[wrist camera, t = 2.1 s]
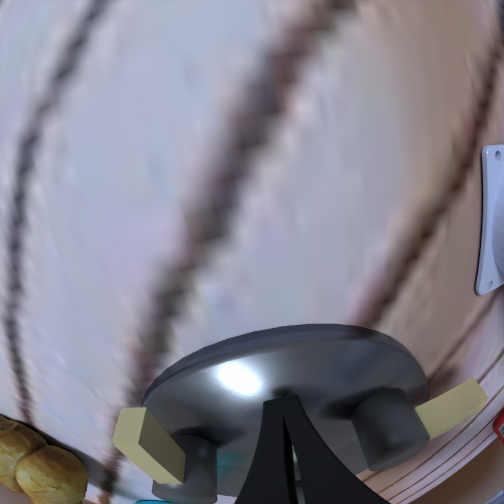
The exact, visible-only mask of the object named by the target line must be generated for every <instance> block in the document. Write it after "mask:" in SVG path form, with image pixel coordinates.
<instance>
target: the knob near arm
mask: <svg viewBox="0 0 504 504" xmlns="http://www.w3.org/2000/svg"><path fill="white" fill-rule="evenodd" d="M487 400H488V396H487V395H486V394H485V392H484V391H483V390H482V388H481V387H480V386H479V385H478V383H477V382H476V381H475V379H474V378H473V377H472V378H470V379H469V380H467V381H465V382H463V383H462V384H460V385H458V386H456V387H455V388H453V389H451V390H449V391H447V392H446V393H444V394H442V395H440V396H438V397H436V398H434V399H432V400H430V401H428V402H426V403H424V404H422V405H420V406H417V407H415V408H414V407H413V405H412V403H411V402H410V400H409V398H408V396H407V395H406V393H405V391H404V390H402V389H400V388H391V389H387V390H383V391H381V392H378V393H376V394H374V395H372V396H370V397H369V398H367V399H366V400H364V401H363V402H362V403H361V404H360V405H359V406H357V408H356V409H355V410H354V411H353V413H352V416H351V421H352V424H353V427H354V429H355V432H356V435H357V437H358V440H359V443H360V445H361V448H362V451H363V453H364V456H365V459H366V462H367V464H368V467H369V470H371V471H381V470H385V469H389V468H392V467H394V466H397V465H399V464H401V463H403V462H405V461H407V460H408V459H410V458H411V457H413V456H414V455H416V454H417V453H418V452H420V451H421V450H422V449H423V448H424V447H425V446H426V445H427V444H428V442H429V441H431V440H433V439H434V438H436V437H438V436H440V435H442V434H444V433H446V432H447V431H449V430H451V429H453V428H454V427H456V426H458V425H459V424H461V423H463V422H464V421H466V420H468V419H469V418H471V417H472V416H474V415H475V414H477V413H478V412H480V411H481V410H482V409H483V407H484V405H485V403H486V402H487Z"/></svg>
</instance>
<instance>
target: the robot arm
mask: <svg viewBox="0 0 504 504" xmlns="http://www.w3.org/2000/svg"><path fill="white" fill-rule="evenodd" d="M482 165H483V228H482V242H481V253H480V262H479V269H478V276H477V283H476V292H477V293H478V294H479V295H484V294H486V293H488V292H490V291H492V290H494V289H495V288H497V287H499V286H501V285H503V284H504V144H496V145H486V146H484V148H483V150H482ZM292 445H293V448H294V451H295V455H296V458H297V462H298V466H299V472H300V477H301V482H302V488H303V493H304V499H305V504H391V503H389V502H388V501H386V500H385V499H383V498H382V497H381V496H379V495H378V494H377V493H375V492H374V491H373V490H371V489H370V488H369V487H368V486H367V485H365V484H364V483H363V482H362V481H361V480H359V479H358V478H357V477H356V476H355V475H354V474H353V473H352V472H351V471H350V470H349V469H348V468H347V467H346V466H345V465H344V464H343V463H342V462H341V461H340V460H339V459H338V458H337V456H336V455H335V454H334V453H333V452H332V450H331V449H330V448H329V447H328V445H327V444H326V443H325V442H324V440H323V439H322V438H321V436H320V435H319V433H318V432H317V430H316V429H315V427H314V426H313V424H312V423H311V421H310V419H309V417H308V416H307V414H306V412H305V410H304V408H303V406H302V404H301V401H300V398H299V395H297V394H293V395H289V396H285V397H280V398H276V399H271V400H266V401H264V402H263V413H262V422H261V428H260V433H259V437H258V442H257V446H256V450H255V453H254V457H253V460H252V463H251V466H250V469H249V472H248V475H247V477H246V480H245V482H244V484H243V487H242V489H241V491H240V493H239V495H238V497H237V499H236V501H235V503H234V504H299V502H298V497H297V490H296V481H295V469H294V458H293V448H292ZM484 504H504V488H503V489H502V490H500V491H499V492H498V493H496V494H495V495H494V496H492V497H491V498H490V499H489V500H488V501H487V502H485V503H484Z"/></svg>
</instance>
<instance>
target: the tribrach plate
mask: <svg viewBox="0 0 504 504" xmlns="http://www.w3.org/2000/svg"><path fill="white" fill-rule="evenodd" d="M391 388H400V389H402V390H404V391H405V393H406V395H407V396H408V398H409V400H410V402H411V403H412V405H413V407H414V408H415V407H417V406H420V405H422V404H424V403H426V402H428V398H429V385H428V380H427V378H426V376H425V374H424V372H423V370H422V369H421V367H420V366H419V364H418V363H417V361H416V360H415V359H414V357H413V356H412V354H411V353H410V352H409V351H408V350H407V349H406V348H405V347H404V346H403V345H402V344H401V343H399V342H398V341H396V340H395V339H393V338H392V337H390V336H388V335H385V334H383V333H380V332H378V331H375V330H371V329H367V328H362V327H358V326H350V325H340V324H304V325H294V326H283V327H277V328H272V329H266V330H261V331H255V332H251V333H247V334H244V335H240V336H236V337H233V338H229V339H226V340H223V341H221V342H218V343H215V344H212V345H210V346H207V347H204V348H202V349H200V350H198V351H196V352H194V353H192V354H190V355H188V356H186V357H184V358H182V359H181V360H179V361H178V362H176V363H175V364H173V365H172V366H170V367H169V368H167V369H166V370H165V371H164V372H163V373H162V374H161V375H160V376H158V377H157V378H156V379H155V380H154V382H153V383H152V384H151V386H150V387H149V388H148V390H147V391H146V394H145V396H144V398H143V400H142V403H141V407H147V409H148V410H149V411H150V412H151V414H152V415H153V416H154V418H155V419H156V420H157V421H158V422H159V424H160V425H161V426H162V427H163V429H164V430H165V431H166V432H167V433H168V434H169V435H190V436H195V437H199V438H202V439H205V440H207V441H209V442H211V443H212V444H214V445H215V446H216V448H217V494H219V495H225V496H232V497H238V495H239V493H240V491H241V489H242V487H243V484H244V482H245V480H246V477H247V475H248V472H249V469H250V466H251V463H252V460H253V457H254V453H255V450H256V446H257V442H258V437H259V433H260V428H261V422H262V413H263V402H264V401H266V400H271V399H276V398H280V397H285V396H289V395H293V394H297V395H299V398H300V401H301V404H302V406H303V408H304V410H305V412H306V414H307V416H308V417H309V419H310V421H311V423H312V424H313V426H314V427H315V429H316V430H317V432H318V433H319V435H320V436H321V438H322V439H323V440H324V442H325V443H326V444H327V445H328V447H329V448H330V449H331V450H332V452H333V453H334V454H335V455H336V456H337V458H338V459H339V460H340V461H341V462H342V463H343V464H344V465H345V466H346V467H347V468H348V469H349V470H350V471H351V472H352V473H353V474H354V475H356V474H358V473H360V472H362V471H364V470H366V469H368V468H369V467H368V464H367V462H366V459H365V456H364V453H363V451H362V448H361V445H360V443H359V440H358V437H357V435H356V432H355V429H354V427H353V424H352V421H351V416H352V413H353V411H354V410H355V409H356V408H357V406H359V405H360V404H361V403H362V402H363V401H364V400H366V399H367V398H369V397H370V396H372V395H374V394H376V393H378V392H381V391H383V390H387V389H391ZM141 407H140V408H141ZM292 448H293V445H292ZM293 458H294V469H295V481H297V480H301V477H300V472H299V466H298V462H297V458H296V455H295V451H294V448H293Z"/></svg>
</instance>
